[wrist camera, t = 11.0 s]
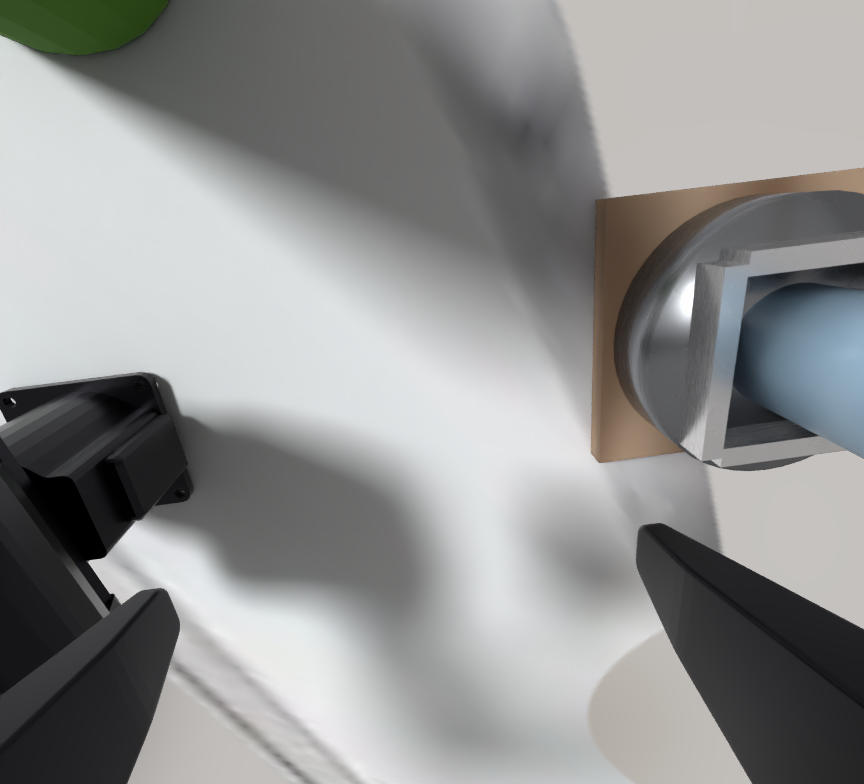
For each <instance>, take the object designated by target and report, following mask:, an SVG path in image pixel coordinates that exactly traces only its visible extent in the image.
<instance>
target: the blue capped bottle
mask: <svg viewBox="0 0 864 784" xmlns="http://www.w3.org/2000/svg"><path fill="white" fill-rule="evenodd" d="M732 385H733V386H734V388H735V389H736V390H737V391H738V392H739V393H740V394H741V395H742V396H744V397H745V398H747V399H749V400H751V401H753V402H755V403H757V404H759V405H761V406H762V407H764V408H766V409H768V410H770V411H772V412H774V413H776V414H778V415H780V416H782V417H784V418H786V419H788V420H790V421H792V422H794V423H795V424H797V425H799V426H801V427H803V428H805V429H807V430H809V431H811V432H813V433H815V434H817V435H819V436H821V437H823V438H825V439H827V440H828V441H830V442H832V443H834V444H836V445H838V446H840V447H842V448H844V449H846V450H848V451H850V452H852V453H854V454H856V455H858V456H860V457H862V458H864V291H863V290H856V289H850V288H844V287H837V286H831V285H824V284H818V283H809V282H803V283H795V284H791V285H787V286H785V287H782V288H779V289H777V290H775V291H773V292H771V293H770V294H768V295H767V296H765V297H763V298H762V299H761V300H760V301H758V302H757V303H756V304H755V305H754V306H753V307H752V308H751V309H750V310H749V311H748V312H747V313H746V314H745V316H744V317H743V318H742V321H741V328H740V335H739V342H738V349H737V356H736V363H735V370H734V377H733V384H732Z"/></svg>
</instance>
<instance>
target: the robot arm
mask: <svg viewBox="0 0 864 784" xmlns="http://www.w3.org/2000/svg"><path fill="white" fill-rule="evenodd" d="M138 381H142V382H143V383H144V384H145V388H142V387H140V386H139V384H138ZM10 397H11V398H12V399H14V400H15V401H16V404H15V403H13V402H12V401H11V398H10ZM0 410H1V412H2V414H3V416H4V418H5V420H6V421H7V423H6V424H4V425H2V426H0V784H127V783H128V780H129V778H130V776H131V773H132V771H133V768H134V766H135V763H136V761H137V758H138V755H139V753H140V751H141V748H142V746H143V743H144V741H145V738H146V736H147V733H148V731H149V728H150V725H151V723H152V720H153V717H154V714H155V711H156V708H157V704H158V702H159V698H160V695H161V692H162V688H163V685H164V682H165V678H166V675H167V672H168V669H169V665H170V662H171V659H172V655H173V652H174V649H175V645H176V642H177V639H178V636H179V631H180V621H179V618H178V615H177V613H176V610H175V608H174V606H173V603H172V601H171V599H170V596H169V594H168V592H167V591H166V590H165V589H162V588H157V589H149V590H143V591H140V592H138V593H137V594H135V595H134V596H133V597H131V598H130V599H129V600H127V601H126V602H125V603H123V604H122V605H121V603H120V602H119V600H118V599H117V598H116V596H115V595H114V594H109V592H108V591H107V589H106V588H105V586H104V585H103V584H102V582H101V581H100V579H99V578H98V576H97V575H96V573H95V572H94V571H93V569H92V568H91V566H90V565H89V563H88V561H89V560H94V559H101V558H104V557H105V556H106V555H107V554H108V553H109V552H110V551H111V549H112V548H113V547H114V546H115V545H116V544H117V542H118V541H119V540H120V539H121V538H122V536H123V535H124V534H125V533H126V532H127V531H128V529H129V528H130V527H131V526H132V525H133V524H134V522H135V521H139V520H142V519H143V518H144V517H145V516H146V515H147V514H148V513H149V511H150V510H151V509H152V508H153V507H154V506H156V505H164V504H171V503H179V502H184V501H187V500H188V499H189V498H190V496H191V495H192V494H193V491H194V488H193V485H192V482H191V479H190V476H189V474H188V471H187V468H186V466H187V464H188V463H187V460H186V457H185V455H184V452H183V449H182V446H181V443H180V441H179V438H178V435H177V432H176V429H175V426H174V424H173V421H172V419H171V418H170V417H169V416H168V415H167V412H166V409H165V407H164V404H163V401H162V398H161V396H160V393H159V390H158V387H157V384H156V382H155V380H154V378H153V377H152V376H151V375H150V374H147V373H145V372H137V373H129V374H122V375H114V376H106V377H98V378H90V379H82V380H74V381H67V382H59V383H51V384H43V385H35V386H27V387H20V388H12V389H9V390H6V391H4V392H2V393H0ZM178 489H182V490H183V491H184V492H185V493H181V492H179V491H178ZM636 565H637V569H638V572H639V574H640V576H641V579H642V581H643V583H644V585H645V587H646V590H647V592H648V594H649V596H650V598H651V600H652V603H653V605H654V607H655V609H656V611H657V614H658V616H659V618H660V620H661V622H662V624H663V627H664V629H665V631H666V633H667V635H668V638H669V639H670V642H671V644H672V645H673V648H674V650H675V652H676V653H677V655H678V657H679V659H680V661H681V662H682V664H683V666H684V668H685V669H686V671H687V673H688V674H689V676H690V678H691V680H692V681H693V683H694V685H695V687H696V688H697V690H698V692H699V693H700V695H701V697H702V699H703V700H704V702H705V704H706V705H707V707H708V709H709V711H710V712H711V714H712V716H713V717H714V719H715V721H716V723H717V724H718V726H719V728H720V729H721V731H722V733H723V734H724V736H725V738H726V740H727V741H728V743H729V745H730V747H731V748H732V750H733V752H734V753H735V755H736V757H737V759H738V760H739V762H740V764H741V765H742V767H743V769H744V771H745V772H746V774H747V776H748V777H749V779H750V781H751V782H752V784H864V629H862V628H860V627H858V626H857V625H855V624H853V623H851V622H849V621H847V620H845V619H843V618H841V617H839V616H837V615H836V614H834V613H832V612H830V611H828V610H826V609H824V608H822V607H820V606H819V605H817V604H815V603H813V602H811V601H809V600H807V599H805V598H803V597H801V596H800V595H798V594H796V593H794V592H792V591H790V590H788V589H786V588H784V587H782V586H781V585H779V584H777V583H775V582H773V581H771V580H769V579H767V578H765V577H764V576H761V575H760V574H758V573H756V572H754V571H752V570H750V569H748V568H746V567H745V566H743V565H741V564H739V563H737V562H735V561H733V560H731V559H729V558H727V557H726V556H724V555H722V554H720V553H718V552H716V551H714V550H712V549H710V548H708V547H707V546H705V545H703V544H701V543H699V542H697V541H695V540H693V539H691V538H689V537H688V536H686V535H684V534H682V533H680V532H678V531H676V530H674V529H672V528H670V527H669V526H667V525H664V524H662V523H656V524H648V525H643V526H641V527H640V528H639V530H638V537H637V550H636Z"/></svg>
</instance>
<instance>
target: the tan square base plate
mask: <svg viewBox="0 0 864 784" xmlns="http://www.w3.org/2000/svg"><path fill="white" fill-rule="evenodd" d="M803 282H809V283H818V284H824V285H831V286H837V287H844V288H850V289H856V290H863V291H864V168H857V169H849V170H841V171H833V172H824V173H816V174H808V175H799V176H791V177H783V178H774V179H766V180H759V181H750V182H742V183H733V184H725V185H716V186H708V187H700V188H691V189H683V190H676V191H666V192H658V193H650V194H642V195H633V196H625V197H616V198H608V199H600V200H596V235H595V284H594V332H593V381H592V429H591V454H592V455H593V456H594V457H595V459H596V460H597V461H598V462H599V463H604V462H611V461H618V460H625V459H633V458H640V457H647V456H655V455H662V454H669V453H677V452H686V453H687V454H689V455H690V456H692V457H693V458H695V459H697V460H699V461H701V462H703V463H706V464H709V465H712V466H715V467H718V468H723V469H729V470H741V471H755V470H766V469H772V468H776V467H782V466H785V465H789V464H792V463H795V462H798V461H801V460H803V459H806V458H808V457H810V456H813V455H815V454H822V453H830V452H837V451H844V450H846V449H844V448H842V447H840V446H838V445H836V444H834V443H832V442H830V441H828V440H827V439H825V438H823V437H821V436H819V435H817V434H815V433H813V432H811V431H809V430H807V429H805V428H803V427H801V426H799V425H797V424H795V423H794V422H792V421H790V420H788V419H786V418H784V417H782V416H780V415H778V414H776V413H774V412H772V411H770V410H768V409H766V408H764V407H762V406H761V405H759V404H757V403H755V402H753V401H751V400H749V399H747V398H745V397H744V396H742V395H741V394H740V393H739V392H738V391H737V390H736V389H735V388H734V386H733V385H732V384H733V377H734V370H735V363H736V356H737V349H738V342H739V335H740V328H741V321H742V318H743V317H744V316H745V314H746V313H747V312H748V311H749V310H750V309H751V308H752V307H753V306H754V305H755V304H756V303H757V302H758V301H760V300H761V299H762V298H763V297H765V296H767V295H768V294H770V293H771V292H773V291H775V290H777V289H779V288H782V287H785V286H787V285H791V284H795V283H803Z"/></svg>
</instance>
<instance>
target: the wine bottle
mask: <svg viewBox="0 0 864 784" xmlns="http://www.w3.org/2000/svg"><path fill="white" fill-rule="evenodd" d="M168 2H169V0H0V35H1V36H3V37H6V38H8V39H11V40H14V41H16V42H19V43H21V44H24V45H27V46H29V47H32V48H34V49H37V50H40V51H42V52H52V53H61V54H70V55H88V54H93V53H98V52H103V51H108V50H113V49H118V48H120V47H122V46H123V45H125V44H127V43H128V42H130V41H132V40H133V39H135V38H137V37H138V36H140V35H142V34H143V33H145V32H146V31H147V30H148V29H149V27H150V26H151V25H152V24H153V23H154V21H155V20H156V19H157V18H158V17H159V15H160V14H161V13H162V12H163V11H164V9H165V8H166V7H167V5H168Z"/></svg>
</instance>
